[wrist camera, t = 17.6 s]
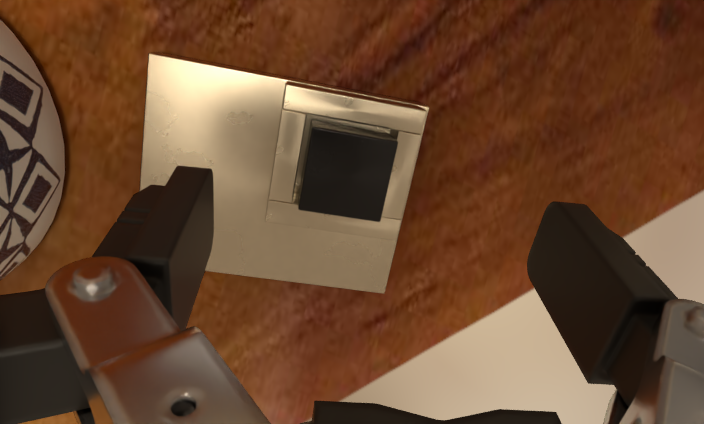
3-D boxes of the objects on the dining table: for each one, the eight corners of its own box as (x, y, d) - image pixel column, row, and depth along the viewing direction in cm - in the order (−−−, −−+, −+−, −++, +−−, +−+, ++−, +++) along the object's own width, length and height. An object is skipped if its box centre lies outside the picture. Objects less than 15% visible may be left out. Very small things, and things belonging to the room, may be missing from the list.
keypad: (422, 102, 28) (438, 111, 24) (379, 280, 31) (389, 309, 28) (157, 51, 25) (137, 54, 22) (143, 249, 29) (123, 277, 25)
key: (391, 133, 25) (398, 141, 23) (374, 208, 26) (380, 222, 24) (310, 118, 24) (312, 126, 22) (297, 197, 25) (297, 210, 23)
